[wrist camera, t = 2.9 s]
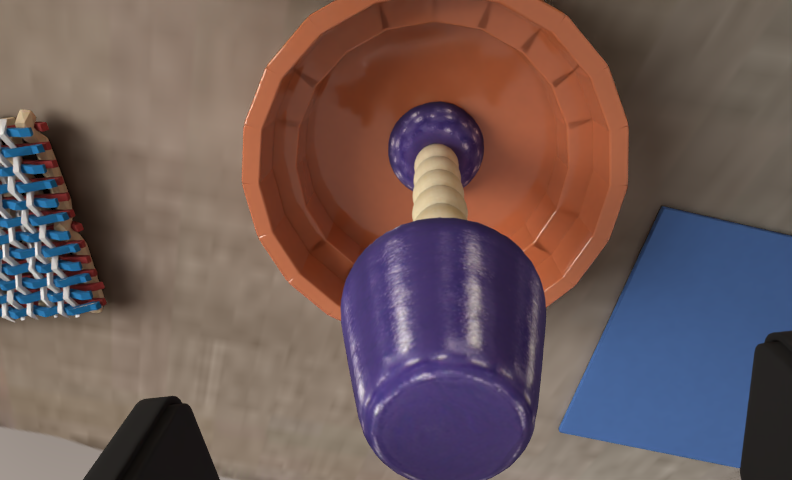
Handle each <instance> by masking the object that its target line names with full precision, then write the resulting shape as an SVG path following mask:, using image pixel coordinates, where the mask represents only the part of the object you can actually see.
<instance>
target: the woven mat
mask: <svg viewBox="0 0 792 480" xmlns="http://www.w3.org/2000/svg"><path fill="white" fill-rule="evenodd" d="M35 121H36V116H35V115H34V114H33V113H32V111H30V110H22V109H21V110H20V112H19V114H18V116H17V119H16V120H15V117H9V118H2V119H0V317H1V316H2V318H5V319H7V320H10V321H12V322H15V321H14V320H15V319H18V318H21V320H25V316H28V315H29V316H30V317H32V318H34V319H38V318H37V317H36V316H35V314H36V315H40V316H43V317H49V316H52V315H54V318H57V316H58V314H61V315H62V316H64V317H67V318H69V317H68V316H67V315H75V317H79V316H80V314H81V313H85V312H89V311H90V312H94V313H99V312H102V309H103V306H104V305H105V304H106V303H107V302H106V300H105V298H104V295H103V292H102V289H104V288H105V287H104V284H103V282H99V280H98V277H97V275H98V273H97V271H96V269H95V267H94V264H93V261H92V258H91V255H90V252H89V249H88V246H87V243H86V242H85V240H84V239H83V238H82V237H81V235H80V234H79V233H78V232H80V231H82V230H84V229H83V226H82V224H81V223H78V222H76V221H72V218H73V217H74V216H75V213H74V210H73V209H72V203H71V198H70V195H69V193H68V190H67V187H66V185H65V182H64V179H63V177H62V174H61V171H60V169H59V166H58V163H57V160H56V158H55V156H54V153H53V150H52V147H51V144H50V141H49V140H48V138H47V137H46V136H44V135H43V134H42V133H40V132H39V131H41V132H44V131H47V130H49V128H48V126H47V123H46V122H35ZM22 138H23V139H24V140H25V141H26V142H27V143H24V144H23V141H22ZM1 140H3V141H4V142H5V143H6V145H2V142H1ZM31 154H36V155H37V158H38V160H29V159H22V158H23V156H24V155H31ZM42 173H43V174H44V177H45V178H35V177H34V175H33V174H42ZM43 189H49V190H50V193H51V194H44V193H43ZM20 193H25V196H23V195H22V194H20ZM2 194H3V197H2ZM54 207H56V210H50V208H54ZM29 209H30V210H29ZM34 226H38V227H34ZM19 240H22V242H23V243H20V242H19ZM59 240H64V241H59ZM41 241H42V242H41ZM71 252H73V255H67V254H66V253H71ZM83 282H84V284H78V283H83Z"/></svg>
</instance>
